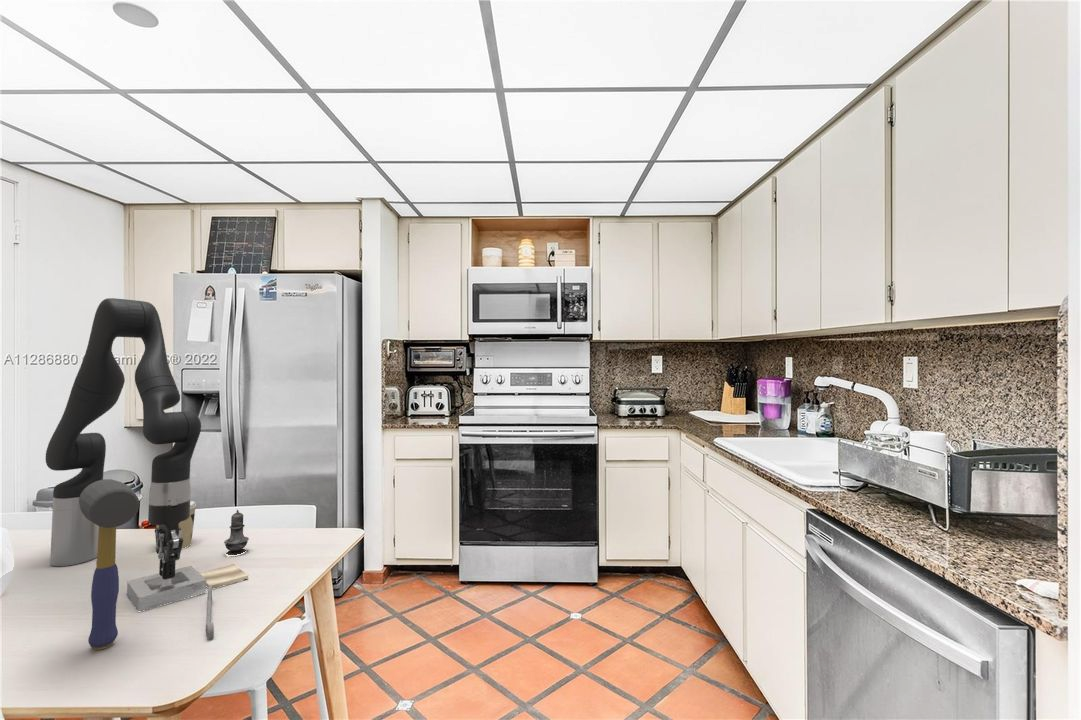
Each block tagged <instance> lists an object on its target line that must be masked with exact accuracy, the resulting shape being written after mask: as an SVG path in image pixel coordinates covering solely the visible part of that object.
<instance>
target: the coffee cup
mask: <svg viewBox="0 0 1081 720" xmlns="http://www.w3.org/2000/svg"><path fill="white" fill-rule="evenodd" d="M196 507H197V503H196V502H195V501H193V500H190V516H189V518H188V519H186V520H185V521H181V522H180V523H179V529H180V528H181V536H180V538H183V544H182V548H184V549H186V548H188V547H190V546H191V545H192V540H193V532H194V524H195V523H194V522H195V516H196V515H195V513H196ZM155 526H156V527H155V528H159V525H155ZM190 544H191V545H190ZM189 545H190V546H189ZM187 546H188V547H187ZM185 547H186V548H185Z"/></svg>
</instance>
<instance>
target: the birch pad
mask: <svg viewBox="0 0 1081 720" xmlns="http://www.w3.org/2000/svg"><path fill="white" fill-rule="evenodd" d="M199 573H200V574H201V575H202V576H203V577H204V578H205V579H206V586H207V587H209V585H212V589H213V588H216V589H218V588H217V587H220V586H223V585H227V584H230V585H232V584H231V583H234V582H237V581H241V580H244V579H248V580H249V575H248V574H247V573H246V572H245V571H244V570H242V569H241V568H240V567H238V566H237V565H236V564H234V563H233V564H229V565H226V566H221V567H217V568H215V569H211V570H207V571H203V572H199ZM244 581H245V580H244ZM241 582H242V581H241ZM237 583H238V582H237ZM234 584H235V583H234ZM227 586H228V585H227ZM207 587H206V588H207ZM223 587H224V586H223ZM220 588H221V587H220ZM213 590H214V589H213Z"/></svg>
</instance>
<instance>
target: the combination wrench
mask: <svg viewBox="0 0 1081 720" xmlns="http://www.w3.org/2000/svg"><path fill="white" fill-rule="evenodd" d="M212 601H213V590H212V585H209V587H208V588H207V603H206V604H207V605H206V624H205V636H206V637H205V638H207V639H206V640H211V639H214V636H215V626H214V623H213V622H212V603H213V602H212Z"/></svg>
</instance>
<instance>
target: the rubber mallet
mask: <svg viewBox="0 0 1081 720" xmlns="http://www.w3.org/2000/svg"><path fill="white" fill-rule="evenodd" d="M79 505H80V509H81V511H82V513H83V515H84V516H85V517H86V518H87V519H88V520H89V521H91V522H93V523H94V524H96V525H98V526H99V530H98V548H97V557H96V567H95V569H94V572H93V575H92V576H93V577H92V582H91V591H90V599H91V607H92V610H91V611H92V612H91V613H92V615H91V628H90V633H89V636H88V645H89V646H90V647H91V650H94V651H97V650H98V651H99V650H104V649H106V648H109V647H110V646H112V645H113V644H114V642H115V640H116V638H118V634H119V631H118V627H117V620H116V619H117V602H118V596H119V592H120V591H119V590H120V578H119V577H120V576H119V569H118V565H117V563H116V553H117V552H116V549H117V548H116V545H117V543H116V542H117V527H120V526H122V525H125V524H126V523H128V522H130V521H131V520H132V519H133V518H134V517H135V516H136V514H137V512H138V511H139V509H140V508H139V507H140V500H139V497H138V495H137V494H136V492H135V491H134V489H132V487H130V486H129V485H127V484H126V483H124V482H122V481H118V480H115V479H111V478H110V479H109V478H108V479H107V478H106V479H105V478H103V480H99V481H96V482H94V483H92V484H90V485H88V486H87V487H86V488H85V489H84V490H83V491H82V493H81V494H80V498H79Z"/></svg>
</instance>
